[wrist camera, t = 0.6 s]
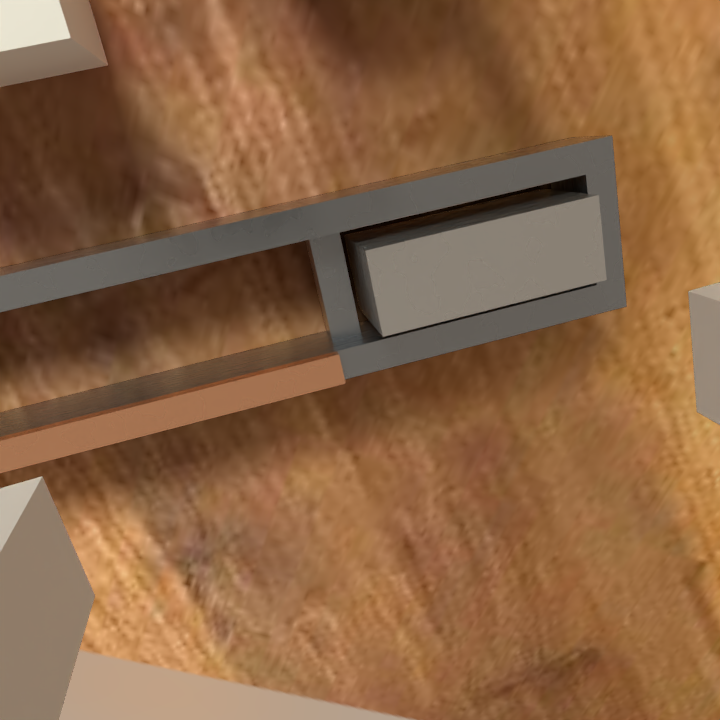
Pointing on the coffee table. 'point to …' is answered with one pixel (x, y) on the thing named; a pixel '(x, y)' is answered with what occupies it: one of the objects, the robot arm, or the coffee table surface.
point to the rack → (372, 284)
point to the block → (47, 39)
